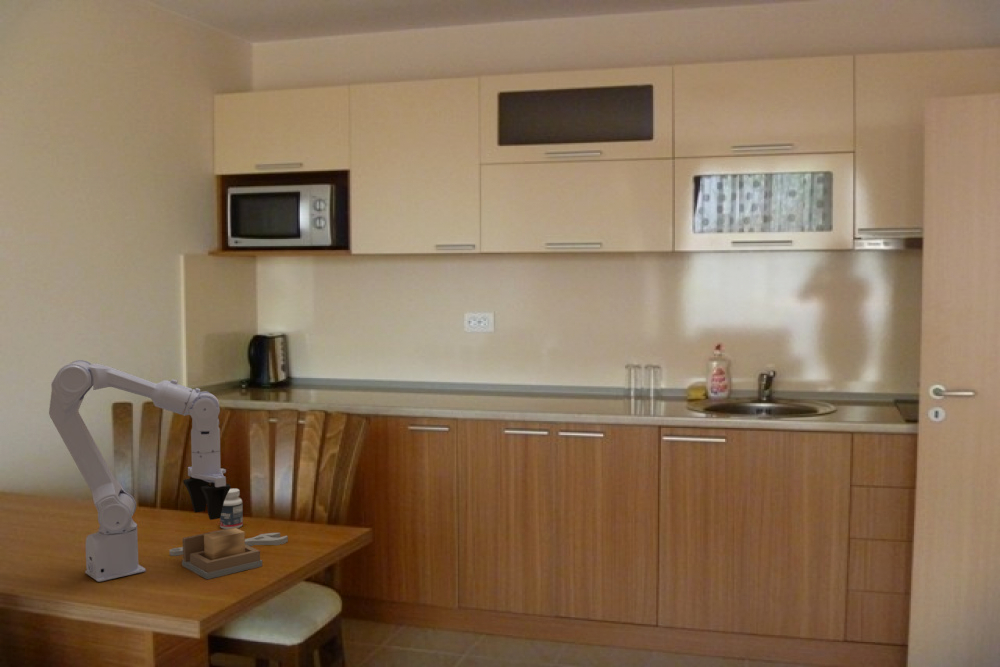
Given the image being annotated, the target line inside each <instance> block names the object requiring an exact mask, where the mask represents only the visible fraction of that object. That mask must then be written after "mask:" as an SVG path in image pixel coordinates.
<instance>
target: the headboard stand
mask: <svg viewBox="0 0 1000 667" xmlns="http://www.w3.org/2000/svg"><path fill="white" fill-rule="evenodd" d="M234 528H237V529H239V530H240V527H239V528H238V527H233V528H229V529H234ZM229 529H219V530H214V531H211V532H205V533H200V534H195V535H191V536H190V535H189V536H186V537H182V547H183V555H182V558H183V559H181V565H182V567H184V568H186V570H189V571H191V572H193V573H195V574H196V575H198V576H200V577H202V578H203V579H206V580H210V579H215V578H219V577H222V576H223V577H224V576H227V575H231V574H235V573H241V572H243V571H248V570H252V569H256V568H261V567H263V560H262V559H261V550H259V549H257V548H255V547H253V546H248V545H246V544H245V553H241V554H236V555H232V556H228V557H223V558H219V559H214V560H209V559H207V558H205V554H204V535H205V534H210V533H215V532H220V531H224V530H229Z"/></svg>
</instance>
